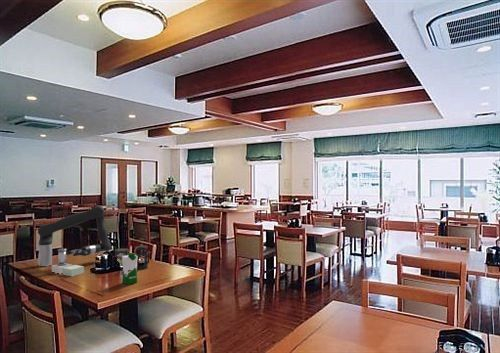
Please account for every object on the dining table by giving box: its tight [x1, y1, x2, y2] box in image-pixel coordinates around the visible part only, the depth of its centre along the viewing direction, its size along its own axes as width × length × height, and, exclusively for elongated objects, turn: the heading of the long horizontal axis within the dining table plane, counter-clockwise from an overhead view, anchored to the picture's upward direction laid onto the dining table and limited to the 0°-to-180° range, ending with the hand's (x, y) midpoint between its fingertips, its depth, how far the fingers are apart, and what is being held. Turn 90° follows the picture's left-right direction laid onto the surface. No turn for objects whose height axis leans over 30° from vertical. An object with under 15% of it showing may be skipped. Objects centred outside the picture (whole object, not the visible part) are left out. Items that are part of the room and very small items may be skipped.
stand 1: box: [51, 263, 73, 275], centre depth 267 cm, size 10×10×5 cm
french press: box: [135, 238, 150, 271], centre depth 278 cm, size 12×9×23 cm
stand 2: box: [62, 264, 85, 277], centre depth 261 cm, size 10×10×5 cm
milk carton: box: [121, 252, 138, 286], centre depth 239 cm, size 9×9×20 cm
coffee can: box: [114, 247, 130, 266], centre depth 280 cm, size 10×10×14 cm
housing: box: [57, 248, 68, 266], centre depth 267 cm, size 6×6×12 cm
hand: (70, 254), depth 273 cm, fingers open, 8 cm apart
